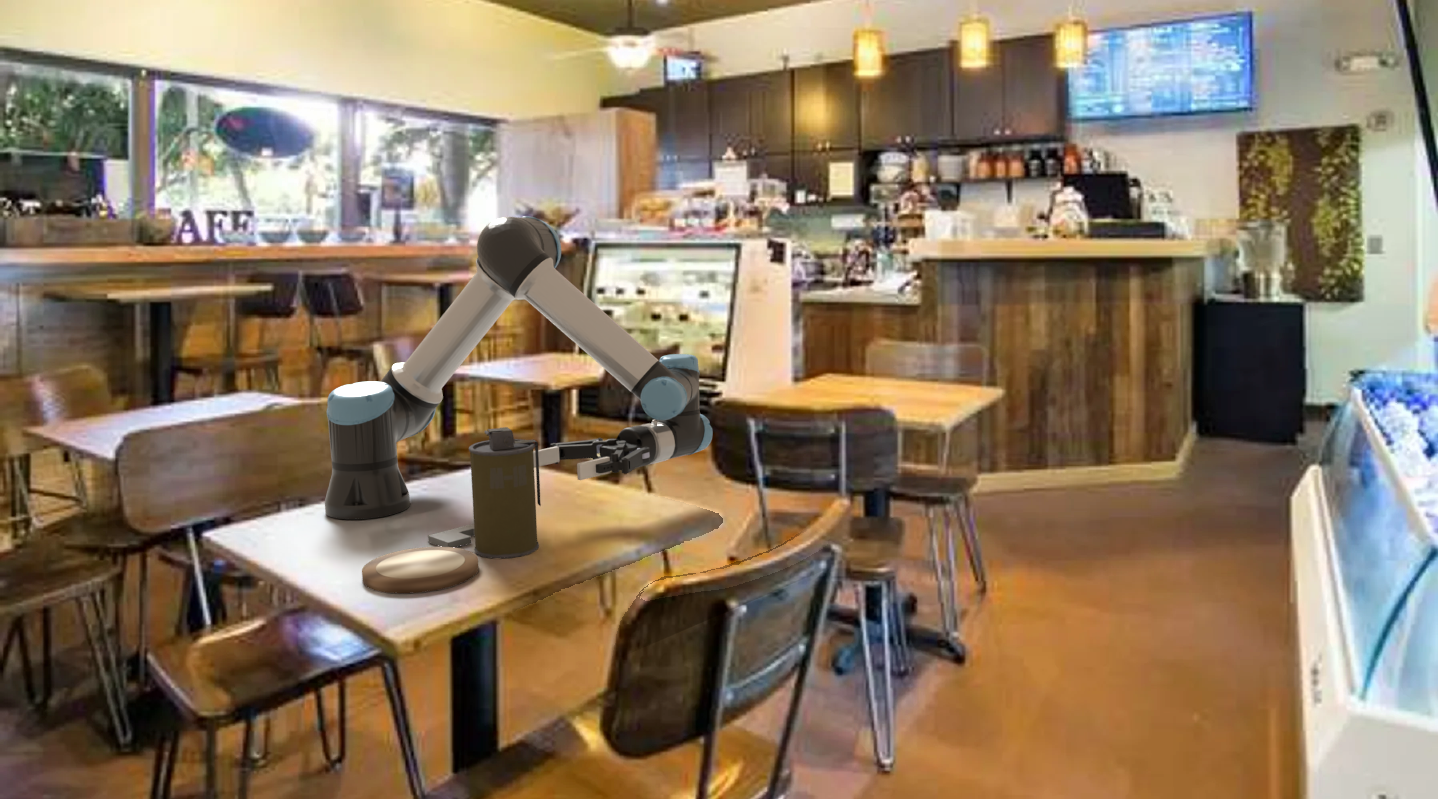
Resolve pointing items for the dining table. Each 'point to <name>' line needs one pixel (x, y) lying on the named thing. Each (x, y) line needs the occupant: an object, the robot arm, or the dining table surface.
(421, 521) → the dining table surface
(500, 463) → the canister
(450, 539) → the notched board
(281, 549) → the dining table surface
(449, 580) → the beige plate
